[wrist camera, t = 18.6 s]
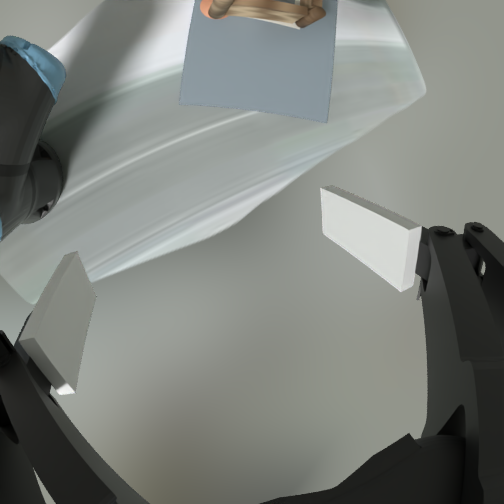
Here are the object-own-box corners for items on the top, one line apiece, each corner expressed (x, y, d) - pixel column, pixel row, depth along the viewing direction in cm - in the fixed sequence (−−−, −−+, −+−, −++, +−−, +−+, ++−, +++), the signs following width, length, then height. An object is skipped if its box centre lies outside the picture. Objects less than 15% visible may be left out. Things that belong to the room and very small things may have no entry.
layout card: (179, 104, 42) (179, 104, 41) (209, -58, 27) (210, -59, 27) (325, 123, 51) (327, 123, 50) (337, -25, 36) (338, -26, 35)
